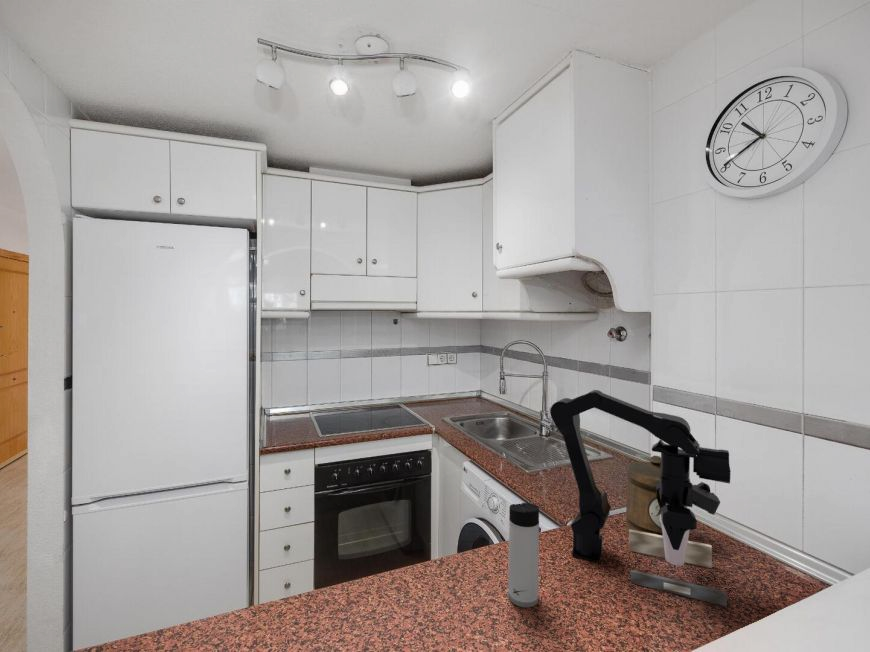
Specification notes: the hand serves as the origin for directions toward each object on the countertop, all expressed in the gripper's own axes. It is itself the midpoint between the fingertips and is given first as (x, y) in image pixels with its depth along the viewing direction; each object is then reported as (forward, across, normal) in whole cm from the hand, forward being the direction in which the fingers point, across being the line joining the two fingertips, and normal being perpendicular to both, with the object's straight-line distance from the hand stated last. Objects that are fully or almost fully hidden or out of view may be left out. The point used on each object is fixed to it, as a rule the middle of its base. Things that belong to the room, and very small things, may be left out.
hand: (673, 540), depth 93 cm
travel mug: (+9, -21, +30) cm, 38 cm away
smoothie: (+5, 0, 0) cm, 5 cm away
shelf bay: (+9, +2, 0) cm, 9 cm away
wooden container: (+9, +21, +2) cm, 23 cm away
